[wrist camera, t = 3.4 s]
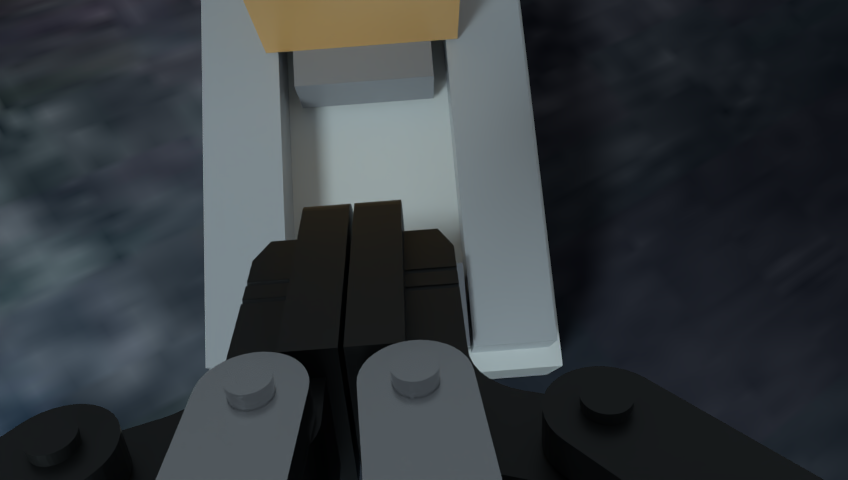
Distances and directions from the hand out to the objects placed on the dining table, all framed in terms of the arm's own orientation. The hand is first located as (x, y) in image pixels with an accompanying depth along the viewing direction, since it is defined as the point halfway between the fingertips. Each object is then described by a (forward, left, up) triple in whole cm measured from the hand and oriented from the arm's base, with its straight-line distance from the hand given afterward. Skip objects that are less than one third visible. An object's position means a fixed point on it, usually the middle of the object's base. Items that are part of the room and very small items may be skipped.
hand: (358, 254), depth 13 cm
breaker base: (-5, +7, -12) cm, 14 cm away
